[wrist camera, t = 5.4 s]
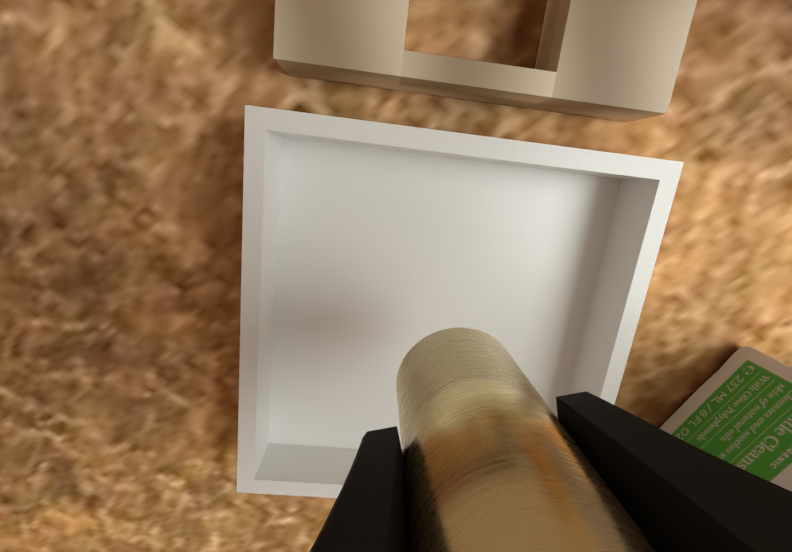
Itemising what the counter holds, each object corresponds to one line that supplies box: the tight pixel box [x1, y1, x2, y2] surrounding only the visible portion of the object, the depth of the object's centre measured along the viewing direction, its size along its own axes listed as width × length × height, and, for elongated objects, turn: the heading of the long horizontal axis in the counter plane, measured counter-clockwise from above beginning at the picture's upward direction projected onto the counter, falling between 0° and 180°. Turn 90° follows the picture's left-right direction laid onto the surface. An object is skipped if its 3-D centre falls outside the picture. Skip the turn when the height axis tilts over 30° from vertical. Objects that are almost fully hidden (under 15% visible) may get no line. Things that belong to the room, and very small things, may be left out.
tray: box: [237, 105, 684, 498], centre depth 14 cm, size 13×13×2 cm
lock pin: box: [396, 327, 656, 552], centre depth 7 cm, size 3×3×7 cm
